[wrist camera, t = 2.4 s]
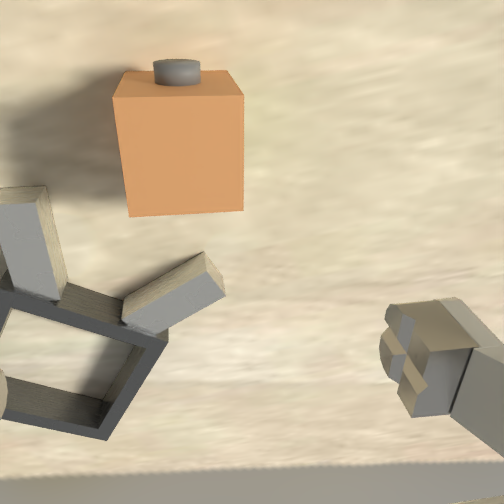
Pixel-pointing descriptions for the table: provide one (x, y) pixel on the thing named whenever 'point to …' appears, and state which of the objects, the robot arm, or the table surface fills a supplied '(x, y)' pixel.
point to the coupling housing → (87, 315)
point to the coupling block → (180, 139)
